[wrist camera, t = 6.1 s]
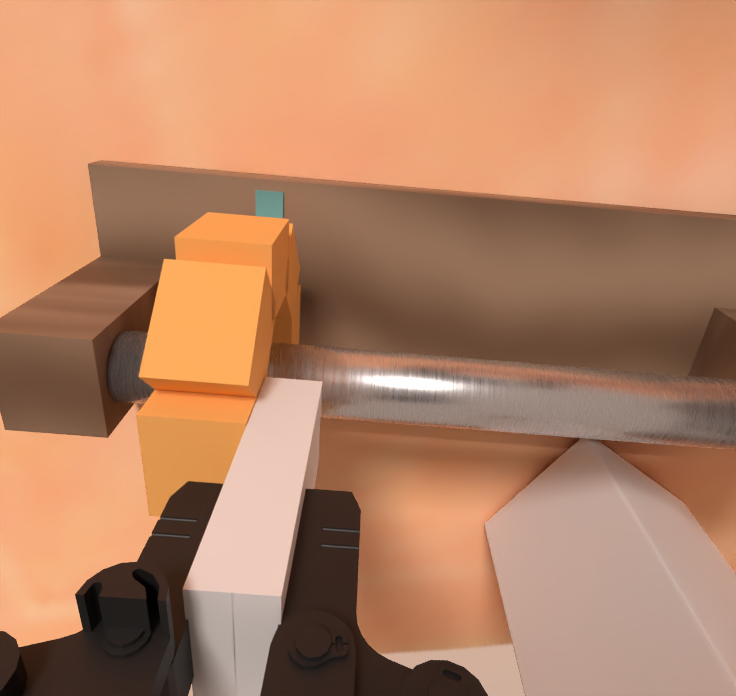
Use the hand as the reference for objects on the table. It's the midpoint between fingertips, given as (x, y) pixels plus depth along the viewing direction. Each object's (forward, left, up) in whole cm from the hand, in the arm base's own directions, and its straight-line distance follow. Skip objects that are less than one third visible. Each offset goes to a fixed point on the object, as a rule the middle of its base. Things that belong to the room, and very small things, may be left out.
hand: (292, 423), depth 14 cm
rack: (0, +5, -9) cm, 10 cm away
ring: (0, -2, -7) cm, 7 cm away
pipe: (0, +5, -4) cm, 6 cm away
